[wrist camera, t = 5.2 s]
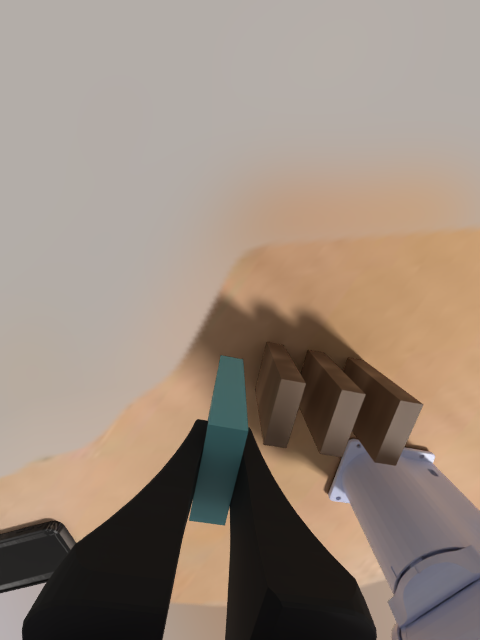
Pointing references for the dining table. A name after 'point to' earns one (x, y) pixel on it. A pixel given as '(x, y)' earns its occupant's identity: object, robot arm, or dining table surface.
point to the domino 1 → (278, 395)
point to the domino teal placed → (222, 444)
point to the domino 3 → (382, 413)
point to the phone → (32, 554)
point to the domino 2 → (329, 403)
